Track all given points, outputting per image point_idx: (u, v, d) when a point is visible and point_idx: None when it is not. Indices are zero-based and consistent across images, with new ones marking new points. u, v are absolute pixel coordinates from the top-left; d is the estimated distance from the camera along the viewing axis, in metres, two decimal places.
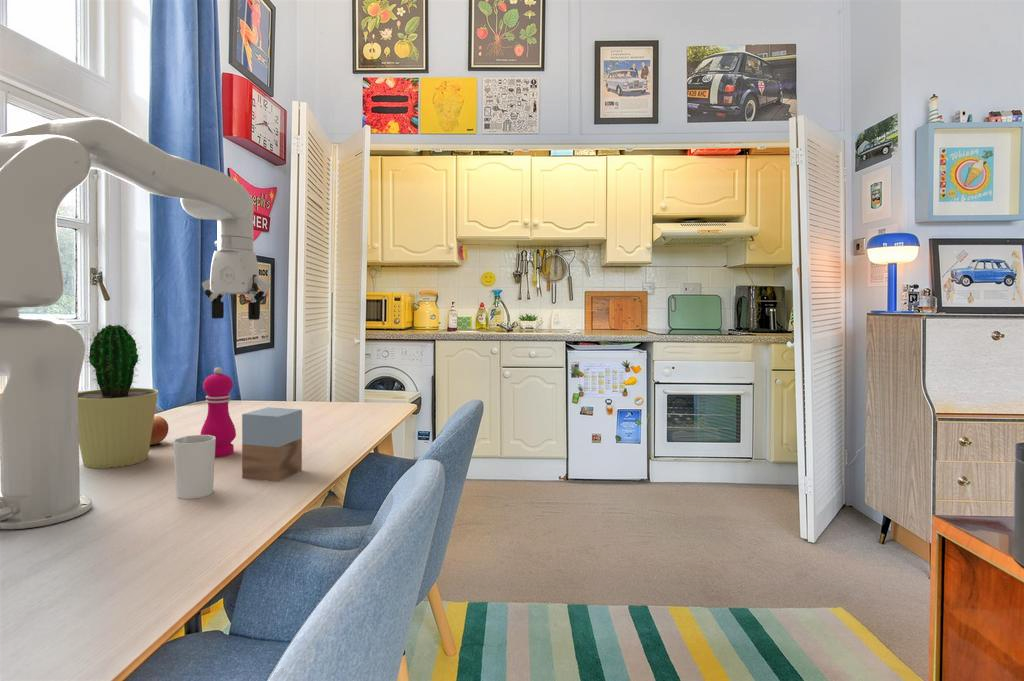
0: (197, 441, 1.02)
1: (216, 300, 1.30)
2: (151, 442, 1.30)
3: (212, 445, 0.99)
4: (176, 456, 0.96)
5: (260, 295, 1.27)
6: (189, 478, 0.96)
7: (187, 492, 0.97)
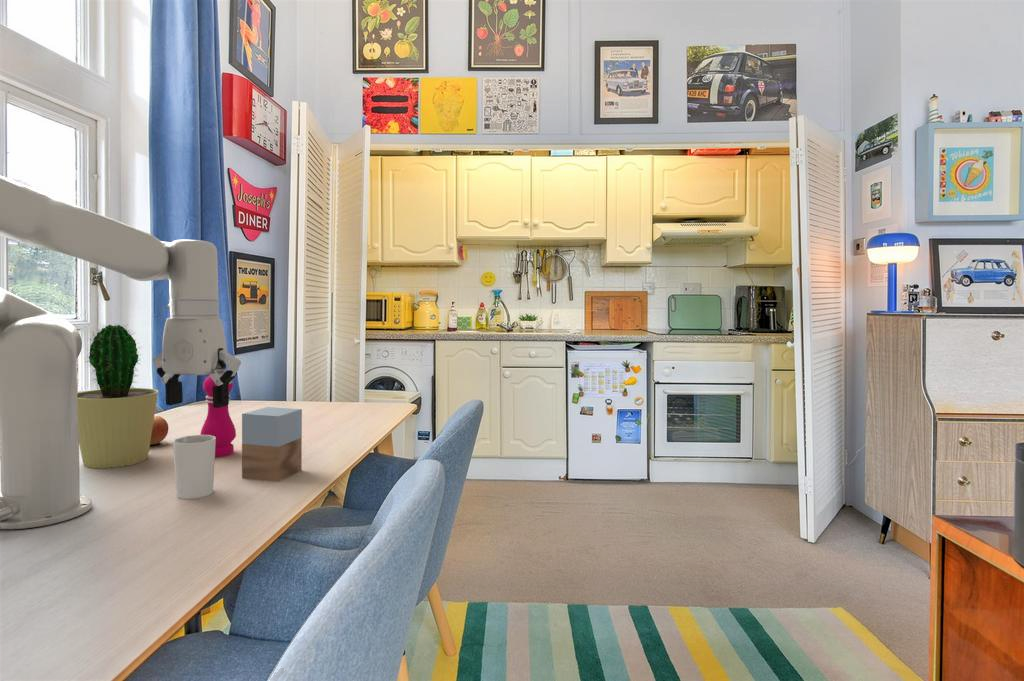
0: (197, 441, 1.02)
1: (171, 381, 0.99)
2: (151, 442, 1.30)
3: (212, 445, 0.99)
4: (176, 456, 0.96)
5: (228, 376, 0.96)
6: (189, 478, 0.96)
7: (187, 492, 0.97)
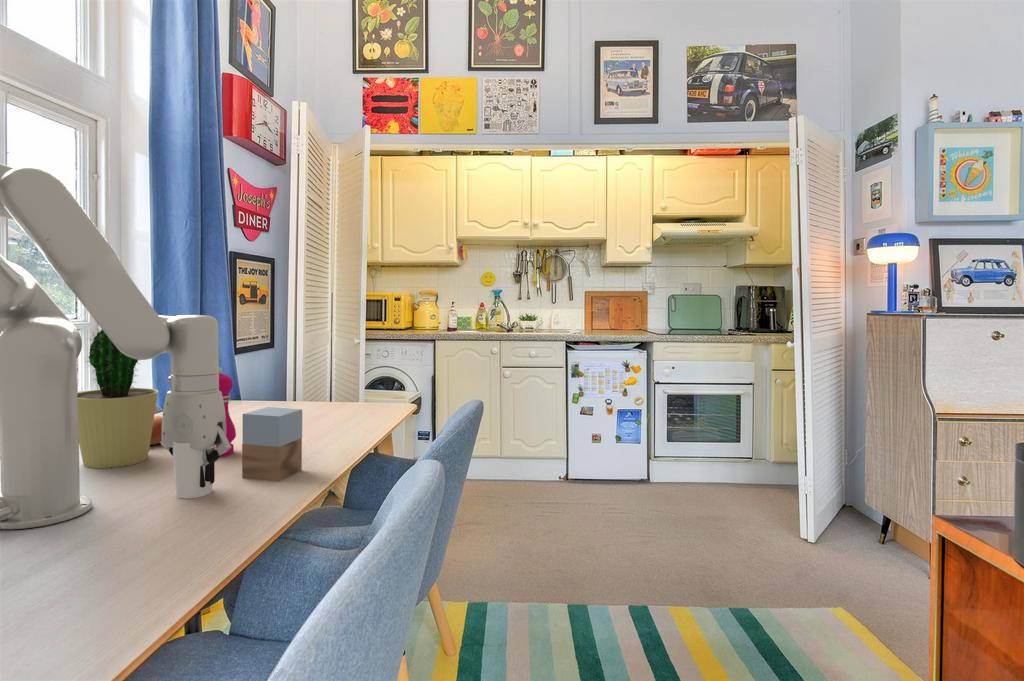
0: None
1: None
2: (151, 442, 1.30)
3: None
4: (175, 456, 0.96)
5: (214, 456, 0.97)
6: (189, 478, 0.96)
7: (187, 492, 0.97)
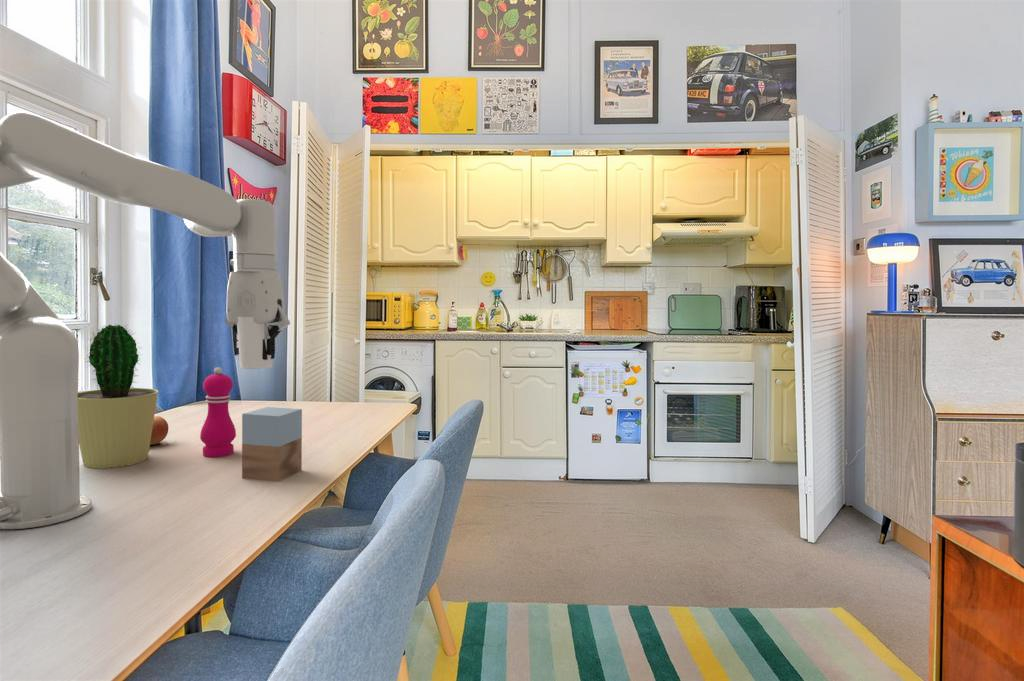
0: None
1: None
2: (151, 442, 1.30)
3: None
4: (240, 329, 1.05)
5: (275, 330, 1.06)
6: (253, 349, 1.05)
7: (251, 362, 1.05)
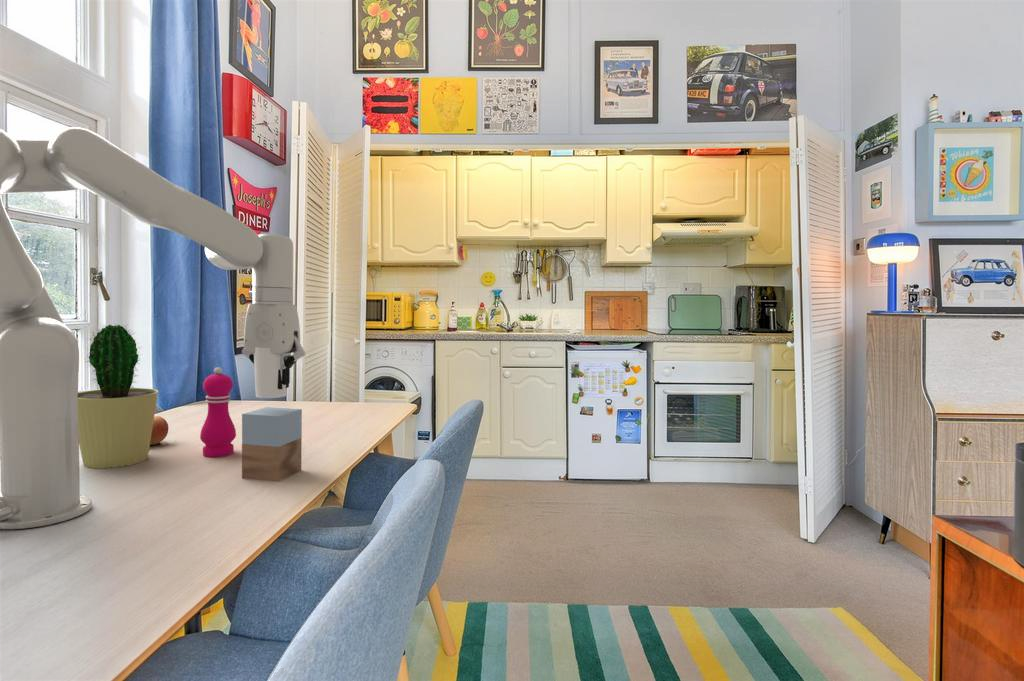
0: None
1: None
2: (151, 442, 1.30)
3: (287, 352, 1.11)
4: (257, 360, 1.08)
5: (290, 361, 1.09)
6: (269, 379, 1.08)
7: (267, 392, 1.08)
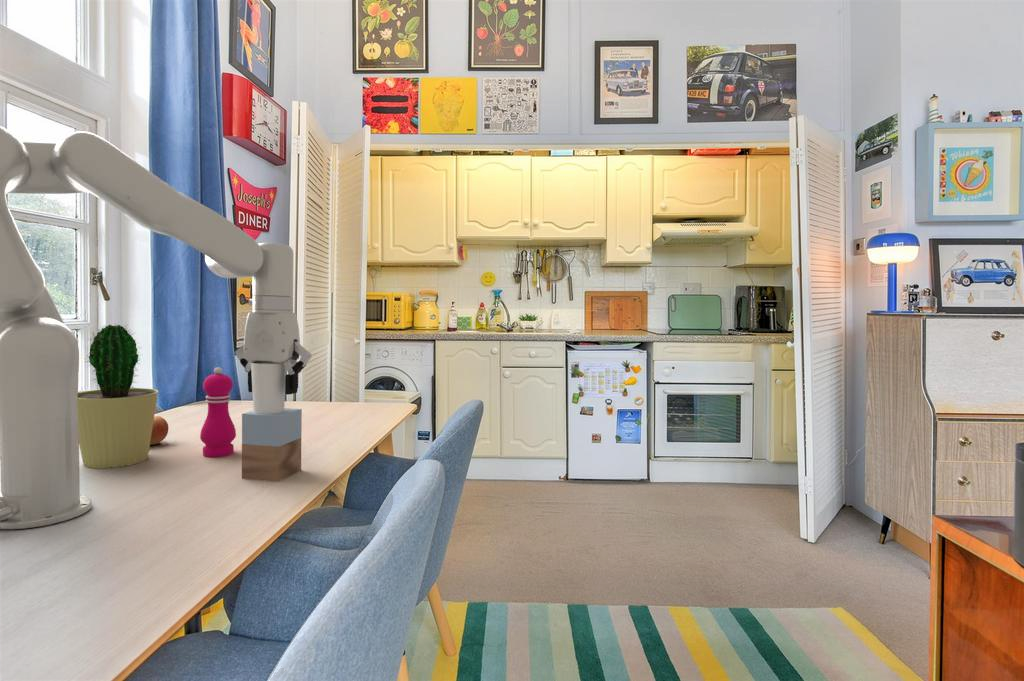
0: None
1: None
2: (151, 442, 1.30)
3: None
4: (255, 376, 1.08)
5: (299, 366, 1.09)
6: (267, 395, 1.08)
7: (265, 408, 1.08)
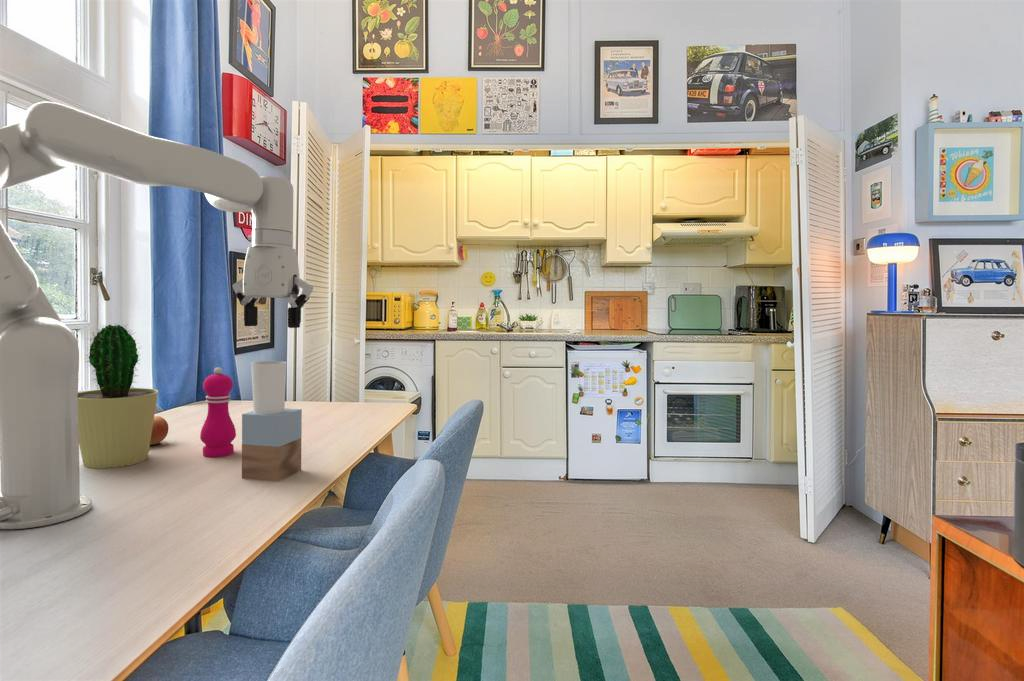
0: None
1: (249, 305, 1.10)
2: (151, 442, 1.30)
3: (285, 368, 1.11)
4: (255, 376, 1.08)
5: (302, 299, 1.08)
6: (267, 395, 1.08)
7: (265, 408, 1.08)
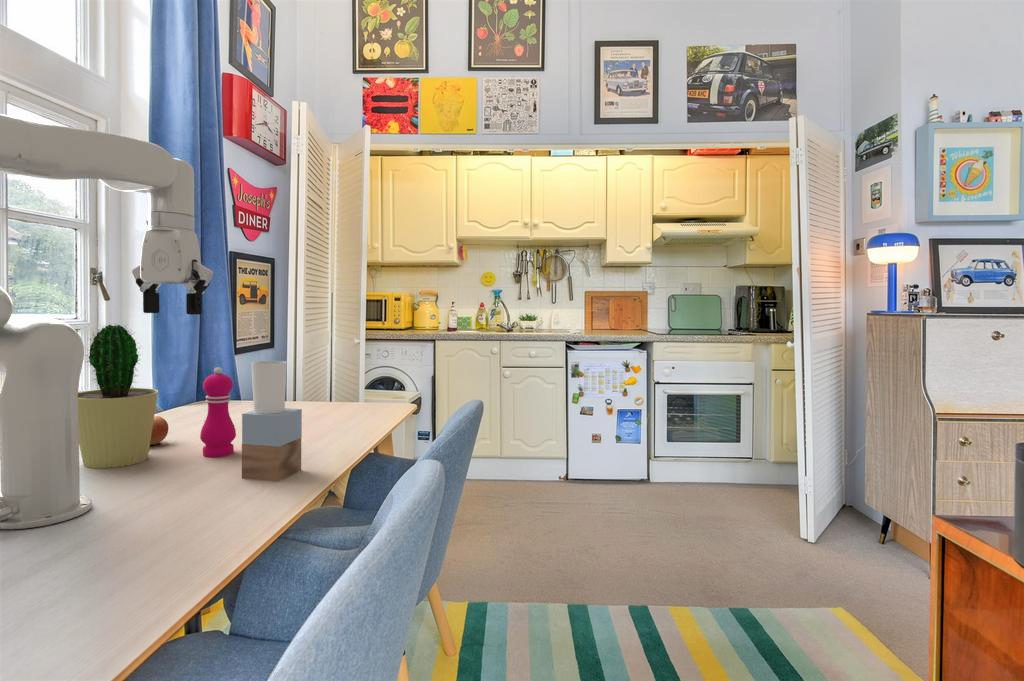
0: None
1: (149, 291, 1.07)
2: (151, 442, 1.30)
3: (285, 367, 1.11)
4: (255, 376, 1.08)
5: (201, 284, 1.04)
6: (268, 395, 1.08)
7: (266, 408, 1.08)
